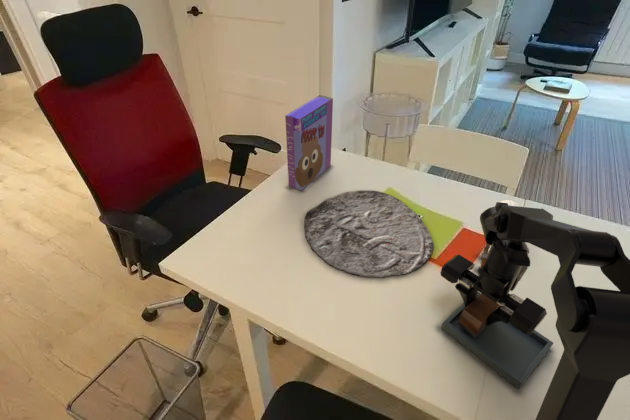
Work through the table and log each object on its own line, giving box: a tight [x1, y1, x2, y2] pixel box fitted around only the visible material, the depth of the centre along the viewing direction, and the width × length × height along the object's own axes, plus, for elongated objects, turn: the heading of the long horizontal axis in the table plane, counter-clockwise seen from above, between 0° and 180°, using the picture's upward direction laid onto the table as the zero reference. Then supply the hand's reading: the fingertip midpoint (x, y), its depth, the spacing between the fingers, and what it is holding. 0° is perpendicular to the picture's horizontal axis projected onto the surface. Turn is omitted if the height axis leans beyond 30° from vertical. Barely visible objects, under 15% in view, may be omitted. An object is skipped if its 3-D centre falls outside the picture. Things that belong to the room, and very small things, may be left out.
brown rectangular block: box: [458, 293, 500, 337], centre depth 75 cm, size 4×8×5 cm, turn 130°
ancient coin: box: [303, 189, 435, 278], centre depth 100 cm, size 33×35×1 cm
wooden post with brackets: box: [477, 242, 491, 272], centre depth 91 cm, size 2×8×4 cm, turn 155°
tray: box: [441, 291, 554, 390], centre depth 75 cm, size 17×13×2 cm
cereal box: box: [284, 94, 334, 192], centre depth 114 cm, size 17×5×24 cm, turn 147°
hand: (478, 317), depth 76 cm, fingers closed on brown rectangular block, 4 cm apart
